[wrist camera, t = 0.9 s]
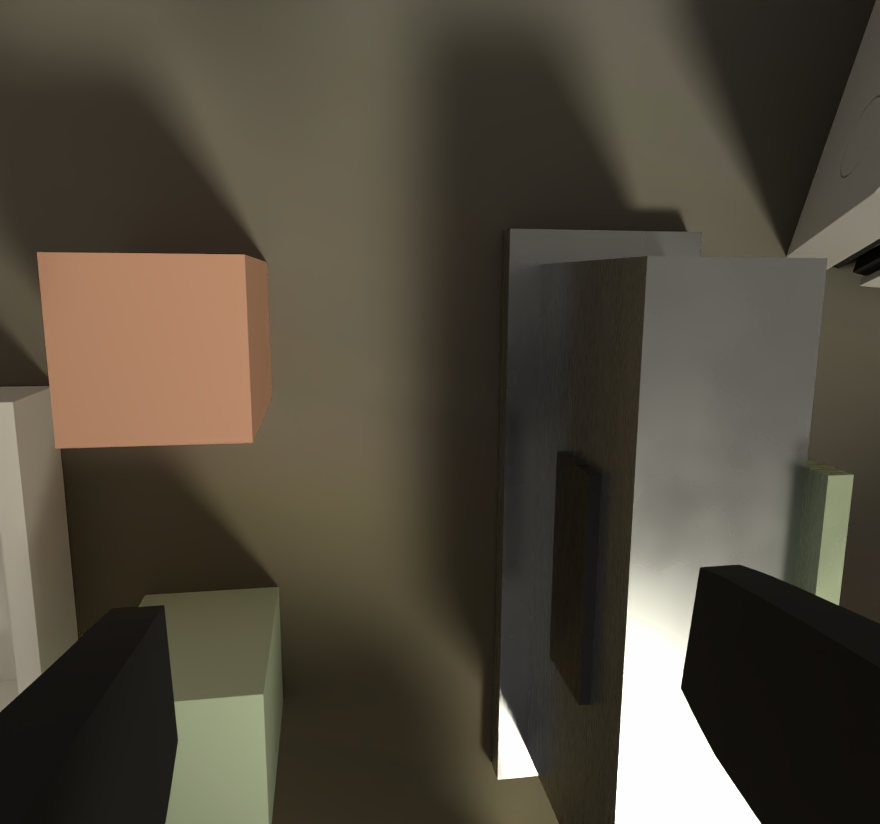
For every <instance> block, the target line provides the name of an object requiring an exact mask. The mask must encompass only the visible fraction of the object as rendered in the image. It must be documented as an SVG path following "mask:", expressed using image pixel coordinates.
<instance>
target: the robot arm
mask: <svg viewBox="0 0 880 824" xmlns="http://www.w3.org/2000/svg"><path fill="white" fill-rule="evenodd" d="M681 690H682V692H683V694H684V696H685V698H686V701H687V703H688V705H689V707H690V709H691V711H692V713H693V715H694V717H695V719H696V721H697V723H698V725H699V727H700V729H701V731H702V732H703V734H704V736H705V738H706V740H707V742H708V744H709V745H710V747H711V749H712V751H713V753H714V755H715V756H716V758H717V759H718V761H719V762H720V764H721V765H722V767H723V769H724V770H725V772H726V773H727V775H728V776H729V777H730V779H731V780H732V782H733V783H734V785H735V786H736V788H737V789H738V791H739V792H740V794H741V795H742V797H743V798H744V800H745V801H746V803H747V804H748V805H749V807H750V808H751V810H752V811H753V813H754V814H755V816H756V817H757V819H758V820H759V821H760V823H761V824H880V624H878V623H876V622H874V621H872V620H869V619H867V618H865V617H863V616H861V615H858V614H856V613H854V612H852V611H850V610H847V609H845V608H843V607H841V606H839V605H836V604H834V603H832V602H830V601H828V600H825V599H823V598H821V597H819V596H817V595H814V594H812V593H810V592H808V591H805V590H803V589H801V588H799V587H796V586H794V585H792V584H789V583H787V582H785V581H782V580H780V579H778V578H775V577H773V576H770V575H768V574H765V573H763V572H760V571H757V570H755V569H752V568H749V567H746V566H743V565H739V564H738V565H724V566H710V567H700V570H699V576H698V582H697V588H696V595H695V601H694V607H693V613H692V620H691V626H690V632H689V638H688V645H687V651H686V657H685V663H684V670H683V676H682V682H681ZM177 744H178V734H177V724H176V715H175V705H174V695H173V685H172V675H171V666H170V656H169V646H168V636H167V626H166V617H165V607H164V605H158V606H144V607H130V608H116V609H111V610H110V611H109V612H108V613H107V614H106V615H104V616H103V617H102V618H101V619H100V620H99V621H98V622H97V623H96V624H95V625H93V626H92V627H91V628H90V629H89V630H88V631H87V632H86V633H85V634H84V635H83V636H82V637H81V638H80V639H79V640H78V641H77V642H75V643H74V644H73V645H72V646H71V647H70V648H69V649H68V650H67V651H66V652H65V653H64V654H63V655H62V656H61V657H60V658H58V659H57V660H56V661H55V662H54V663H53V664H52V665H51V666H50V667H49V668H48V669H47V670H46V671H45V672H43V673H42V674H41V675H40V676H39V677H38V678H37V679H36V680H35V681H34V682H33V683H31V684H30V685H29V686H28V687H27V688H26V689H25V690H24V691H23V692H22V693H20V694H19V695H18V696H17V697H16V698H15V699H14V700H13V701H12V702H11V703H9V704H8V705H7V706H6V707H5V708H4V709H3V710H2V711H1V712H0V824H165V823H166V817H167V811H168V804H169V798H170V792H171V786H172V779H173V772H174V765H175V758H176V751H177Z"/></svg>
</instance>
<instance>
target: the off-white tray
mask: <svg viewBox="0 0 880 824" xmlns="http://www.w3.org/2000/svg"><path fill="white" fill-rule="evenodd" d="M77 641H78V631H77V620H76V610H75V599H74V588H73V578H72V567H71V556H70V545H69V535H68V524H67V513H66V503H65V492H64V481H63V470H62V460H61V449H60V448H57V449H55V439H54V429H53V418H52V408H51V397H50V386H16V387H0V712H1V711H2V710H3V709H4V708H5V707H6V706H7V705H8V704H9V703H11V702H12V701H13V700H14V699H15V698H16V697H17V696H18V695H19V694H20V693H22V692H23V691H24V690H25V689H26V688H27V687H28V686H29V685H30V684H31V683H33V682H34V681H35V680H36V679H37V678H38V677H39V676H40V675H41V674H42V673H43V672H45V671H46V670H47V669H48V668H49V667H50V666H51V665H52V664H53V663H54V662H55V661H56V660H57V659H58V658H60V657H61V656H62V655H63V654H64V653H65V652H66V651H67V650H68V649H69V648H70V647H71V646H72V645H73V644H74V643H75V642H77Z"/></svg>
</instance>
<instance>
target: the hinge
mask: <svg viewBox="0 0 880 824" xmlns="http://www.w3.org/2000/svg"><path fill="white" fill-rule="evenodd" d="M786 257H788V258H828V261H827V269H829V268H830V267H835V268H839V267H841V266H843V265H845V264H846V263H848V262H850V261H852V260H853V259H855V258H857V257H858V259H857V262H856V265H855V267H854V270H853V272H854V273H858V274H862V275H863V277H862V280H861V283H860V286H868V287H879V288H880V0H876V2H875V5H874V7H873V10H872V13H871V16H870V19H869V22H868V25H867V27H866V30H865V33H864V36H863V39H862V42H861V45H860V47H859V50H858V53H857V56H856V59H855V62H854V65H853V67H852V70H851V73H850V76H849V79H848V82H847V85H846V87H845V90H844V93H843V96H842V99H841V102H840V104H839V107H838V110H837V113H836V116H835V119H834V122H833V124H832V127H831V130H830V133H829V136H828V139H827V142H826V144H825V147H824V150H823V153H822V156H821V159H820V162H819V164H818V167H817V170H816V173H815V176H814V179H813V182H812V184H811V187H810V190H809V193H808V196H807V199H806V202H805V204H804V207H803V210H802V213H801V216H800V219H799V222H798V224H797V227H796V230H795V233H794V236H793V239H792V242H791V244H790V247H789V250H788V253H787V256H786Z"/></svg>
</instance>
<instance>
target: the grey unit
mask: <svg viewBox="0 0 880 824" xmlns="http://www.w3.org/2000/svg"><path fill="white" fill-rule="evenodd" d="M701 237H702V232H668V231H613V230H557V229H507V230H504V231H503V273H502V321H501V368H500V415H499V462H498V509H497V557H496V604H495V651H494V698H493V745H492V765H493V768H494V771H495V774H496V777H497V779H498V780H500V779H509V778H519V777H528V776H537V775H538V776H539V778H540V781H541V783H542V785H543V788H544V790H545V792H546V794H547V797H548V799H549V801H550V804H551V806H552V808H553V811H554V813H555V815H556V817H557V820H558V822H559V824H761V823H760V821H759V820H758V819H757V817H756V816H755V814H754V813H753V811H752V810H751V808H750V807H749V805H748V804H747V803H746V801H745V800H744V798H743V797H742V795H741V794H740V792H739V791H738V789H737V788H736V786H735V785H734V783H733V782H732V780H731V779H730V777H729V776H728V775H727V773H726V772H725V770H724V769H723V767H722V765H721V764H720V762H719V761H718V759H717V758H716V756H715V755H714V753H713V751H712V749H711V747H710V745H709V744H708V742H707V740H706V738H705V736H704V734H703V732H702V731H701V729H700V727H699V725H698V723H697V721H696V719H695V717H694V715H693V713H692V711H691V709H690V707H689V705H688V703H687V701H686V698H685V696H684V694H683V692H682V690H681V682H682V676H683V670H684V663H685V657H686V651H687V645H688V638H689V632H690V626H691V620H692V613H693V607H694V601H695V595H696V588H697V582H698V576H699V570H700V567H710V566H724V565H738V564H739V565H743V566H746V567H749V568H752V569H755V570H757V571H760V572H763V573H765V574H768V575H770V576H773V577H775V578H778V579H780V580H782V581H785V582H787V583H789V584H792V585H794V586H796V587H799V588H801V589H803V590H805V591H808V592H810V593H812V594H814V595H817V596H819V597H821V598H823V599H825V600H828V601H830V602H832V603H834V604H836V605H839V600H840V592H841V583H842V574H843V566H844V557H845V548H846V539H847V531H848V522H849V513H850V505H851V496H852V487H853V478H854V475H853V474H851V473H848V472H845V471H842V470H840V469H837V468H834V467H831V466H829V465H826V464H823V463H821V462H818V461H815V460H812V459H810V458H807V457H808V447H809V437H810V428H811V418H812V408H813V398H814V388H815V379H816V369H817V359H818V349H819V339H820V330H821V320H822V310H823V300H824V290H825V281H826V271H827V261H828V258H767V257H700V252H701Z"/></svg>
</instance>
